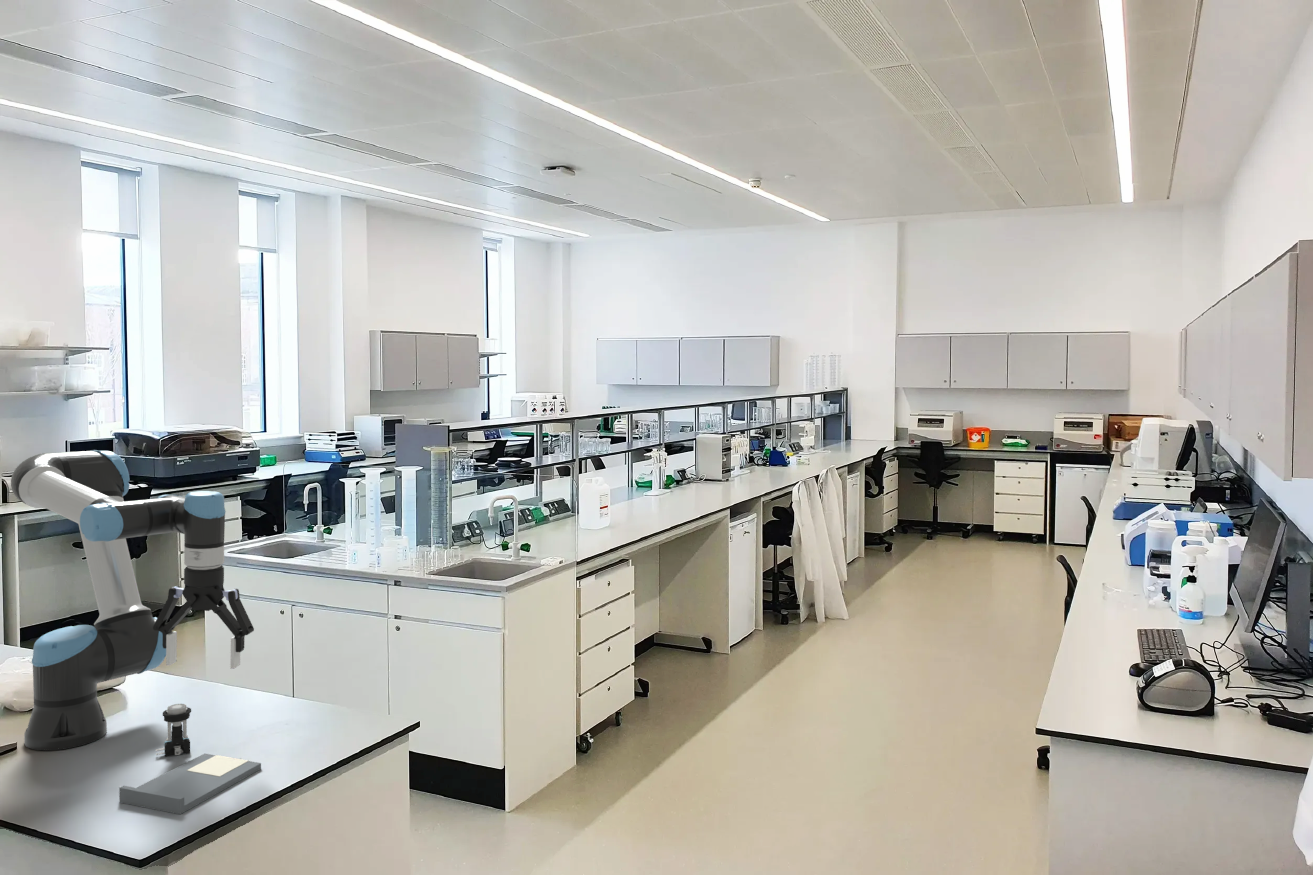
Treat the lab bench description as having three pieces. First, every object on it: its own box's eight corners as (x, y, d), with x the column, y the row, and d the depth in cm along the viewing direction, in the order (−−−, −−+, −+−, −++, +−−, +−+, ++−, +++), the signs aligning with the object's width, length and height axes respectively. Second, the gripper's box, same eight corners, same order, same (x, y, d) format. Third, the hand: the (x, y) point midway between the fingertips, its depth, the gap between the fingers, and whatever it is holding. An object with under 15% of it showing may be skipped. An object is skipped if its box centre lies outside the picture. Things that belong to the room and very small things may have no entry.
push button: (156, 761, 191) (156, 713, 190) (154, 752, 195) (154, 705, 195) (192, 755, 194) (192, 708, 194) (189, 746, 199) (189, 700, 198)
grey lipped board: (119, 802, 172) (119, 787, 172) (204, 758, 192) (204, 745, 192) (180, 814, 168) (180, 799, 168) (260, 768, 188) (260, 755, 188)
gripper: (134, 566, 190) (134, 667, 192) (255, 572, 190) (253, 673, 191) (155, 559, 198) (154, 656, 199) (271, 564, 197) (269, 662, 199)
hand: (203, 665), depth 195 cm, fingers open, 13 cm apart
